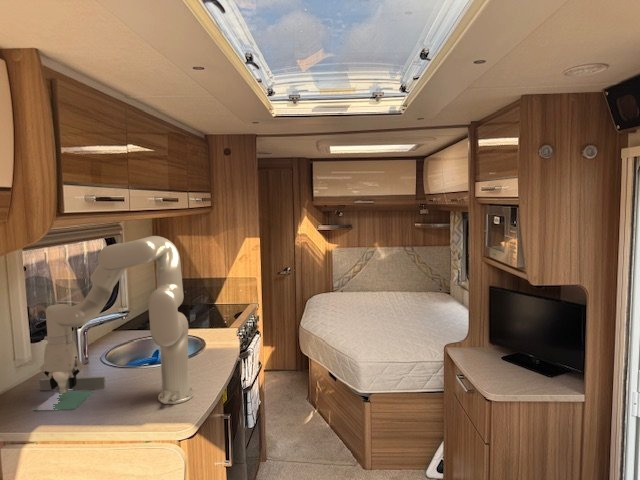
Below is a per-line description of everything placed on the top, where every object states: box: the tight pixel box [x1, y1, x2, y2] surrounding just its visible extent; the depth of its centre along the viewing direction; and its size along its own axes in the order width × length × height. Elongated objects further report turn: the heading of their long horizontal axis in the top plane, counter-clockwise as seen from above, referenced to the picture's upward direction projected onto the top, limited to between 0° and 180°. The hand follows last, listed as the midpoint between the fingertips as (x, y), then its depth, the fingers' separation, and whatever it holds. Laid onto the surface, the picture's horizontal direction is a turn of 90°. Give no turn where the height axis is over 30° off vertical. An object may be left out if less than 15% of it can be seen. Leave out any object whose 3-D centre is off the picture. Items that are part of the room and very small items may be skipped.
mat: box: [33, 390, 94, 411], centre depth 156 cm, size 14×14×1 cm
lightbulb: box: [52, 372, 70, 394], centre depth 156 cm, size 6×6×11 cm
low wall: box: [38, 376, 107, 391], centre depth 166 cm, size 1×24×4 cm, turn 93°
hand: (63, 387), depth 156 cm, fingers closed on lightbulb, 5 cm apart
